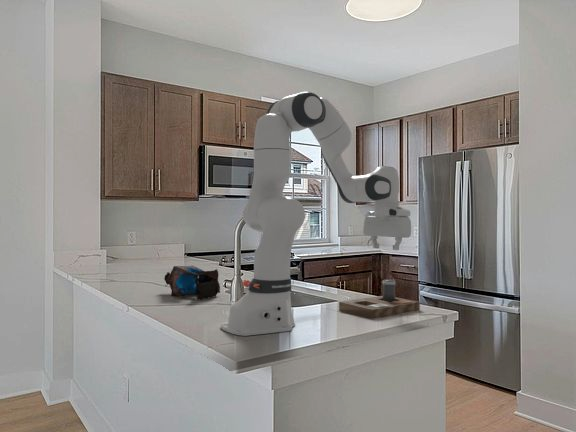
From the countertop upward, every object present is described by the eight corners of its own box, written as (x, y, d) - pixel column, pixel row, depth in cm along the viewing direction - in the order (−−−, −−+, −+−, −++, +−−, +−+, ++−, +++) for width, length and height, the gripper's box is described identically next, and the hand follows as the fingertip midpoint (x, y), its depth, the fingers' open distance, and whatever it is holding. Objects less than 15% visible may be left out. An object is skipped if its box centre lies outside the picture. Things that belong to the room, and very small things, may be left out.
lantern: (211, 314, 180) (166, 303, 193) (229, 280, 189) (185, 272, 202) (190, 292, 169) (144, 282, 182) (211, 257, 178) (165, 250, 191)
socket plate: (372, 319, 146) (372, 308, 146) (339, 310, 159) (339, 301, 159) (419, 310, 160) (419, 301, 160) (385, 303, 173) (385, 294, 173)
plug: (389, 309, 161) (389, 281, 161) (379, 307, 165) (379, 280, 165) (397, 308, 164) (398, 280, 164) (388, 306, 167) (388, 279, 167)
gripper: (359, 211, 171) (359, 247, 171) (402, 211, 155) (401, 251, 155) (371, 211, 175) (370, 247, 175) (414, 211, 158) (413, 250, 158)
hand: (385, 249), depth 165 cm, fingers open, 8 cm apart
